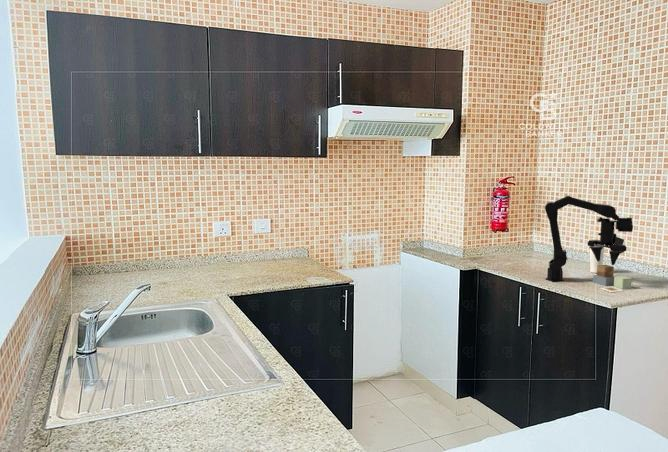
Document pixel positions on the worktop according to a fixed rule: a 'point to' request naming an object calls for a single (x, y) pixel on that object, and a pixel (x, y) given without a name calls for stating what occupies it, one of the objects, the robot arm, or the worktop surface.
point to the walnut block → (605, 271)
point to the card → (611, 289)
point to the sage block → (622, 282)
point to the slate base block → (603, 280)
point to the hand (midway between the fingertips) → (605, 263)
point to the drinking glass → (595, 261)
